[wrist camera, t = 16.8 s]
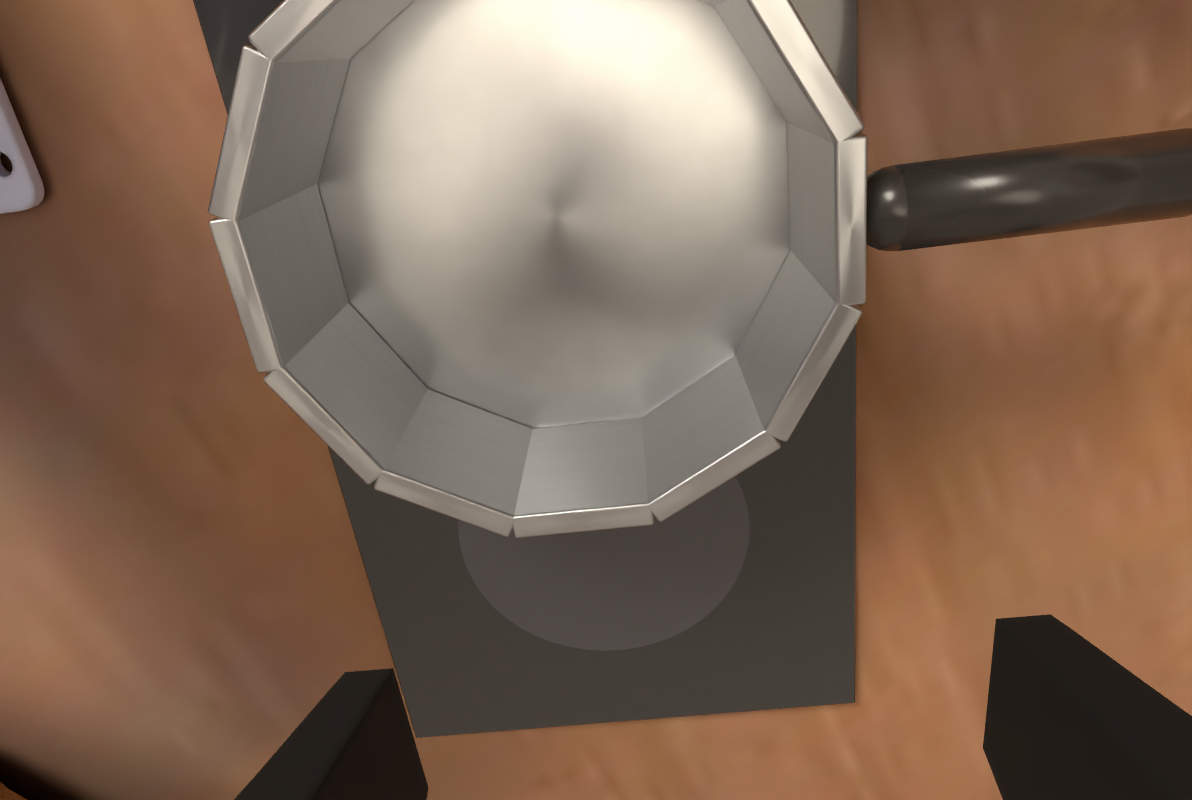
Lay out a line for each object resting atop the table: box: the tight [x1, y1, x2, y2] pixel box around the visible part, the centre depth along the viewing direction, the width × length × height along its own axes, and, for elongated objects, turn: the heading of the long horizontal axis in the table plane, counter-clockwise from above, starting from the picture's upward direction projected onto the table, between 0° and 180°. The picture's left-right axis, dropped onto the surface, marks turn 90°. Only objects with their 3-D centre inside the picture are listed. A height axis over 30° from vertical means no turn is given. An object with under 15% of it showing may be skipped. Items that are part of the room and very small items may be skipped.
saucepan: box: [208, 0, 1192, 538], centre depth 15 cm, size 16×10×5 cm, turn 97°
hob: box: [193, 0, 857, 738], centre depth 19 cm, size 21×13×1 cm, turn 7°
